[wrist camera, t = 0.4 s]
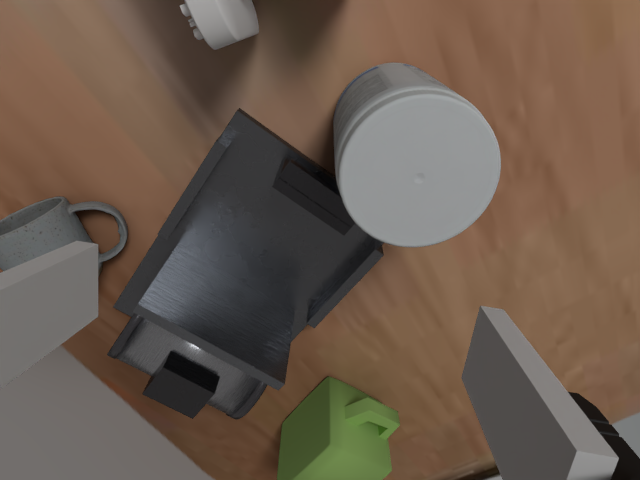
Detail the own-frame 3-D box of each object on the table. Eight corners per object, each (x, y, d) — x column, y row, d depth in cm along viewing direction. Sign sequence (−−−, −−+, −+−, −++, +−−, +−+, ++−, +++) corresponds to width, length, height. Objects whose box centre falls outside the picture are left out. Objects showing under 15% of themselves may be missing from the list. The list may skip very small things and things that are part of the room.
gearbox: (325, 464, 61) (326, 538, 53) (264, 439, 58) (255, 513, 50) (408, 391, 53) (423, 466, 45) (342, 359, 51) (346, 431, 43)
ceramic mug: (61, 276, 47) (16, 321, 40) (13, 210, 43) (-46, 247, 36) (148, 248, 45) (116, 291, 38) (105, 177, 41) (61, 210, 35)
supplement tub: (343, 179, 41) (346, 262, 28) (324, 73, 36) (316, 111, 23) (449, 162, 39) (504, 239, 26) (443, 49, 35) (505, 75, 22)
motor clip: (245, 98, 37) (209, 134, 27) (404, 214, 42) (426, 283, 32) (117, 301, 48) (56, 383, 38) (254, 375, 53) (234, 466, 42)
